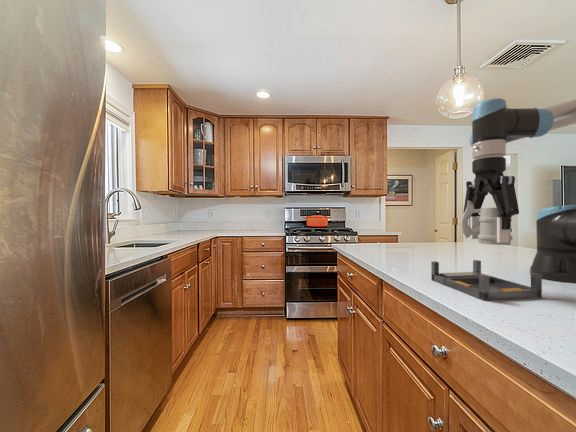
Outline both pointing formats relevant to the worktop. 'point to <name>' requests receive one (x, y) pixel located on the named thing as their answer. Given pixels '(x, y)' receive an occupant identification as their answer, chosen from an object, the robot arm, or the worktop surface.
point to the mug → (483, 225)
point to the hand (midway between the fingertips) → (488, 240)
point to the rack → (487, 284)
